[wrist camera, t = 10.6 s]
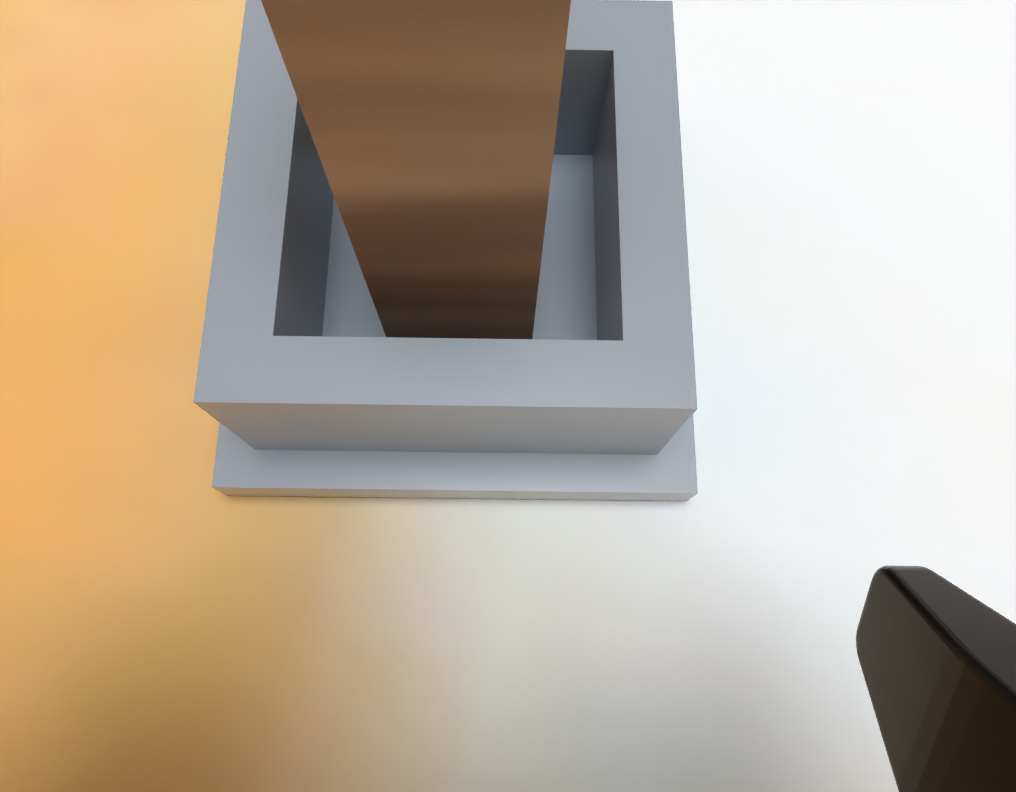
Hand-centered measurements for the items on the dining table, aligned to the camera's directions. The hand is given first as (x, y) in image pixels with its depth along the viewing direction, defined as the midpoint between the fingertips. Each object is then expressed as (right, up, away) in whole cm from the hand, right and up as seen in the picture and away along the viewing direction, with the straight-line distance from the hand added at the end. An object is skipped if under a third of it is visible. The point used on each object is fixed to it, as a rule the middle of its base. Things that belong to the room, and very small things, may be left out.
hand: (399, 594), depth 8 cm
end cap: (0, +4, +11) cm, 12 cm away
